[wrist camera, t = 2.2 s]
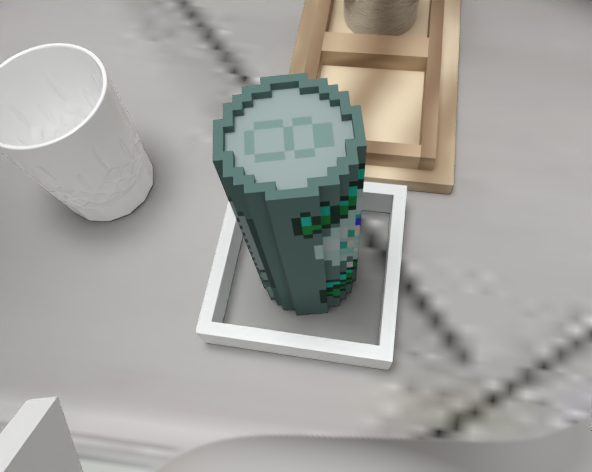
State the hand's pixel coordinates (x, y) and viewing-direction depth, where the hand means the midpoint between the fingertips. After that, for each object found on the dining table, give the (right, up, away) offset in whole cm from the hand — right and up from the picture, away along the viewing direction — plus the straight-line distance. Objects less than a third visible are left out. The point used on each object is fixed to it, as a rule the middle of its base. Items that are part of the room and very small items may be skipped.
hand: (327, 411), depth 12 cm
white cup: (-15, +8, +26) cm, 31 cm away
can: (0, +2, +21) cm, 21 cm away
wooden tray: (+6, +18, +28) cm, 34 cm away
